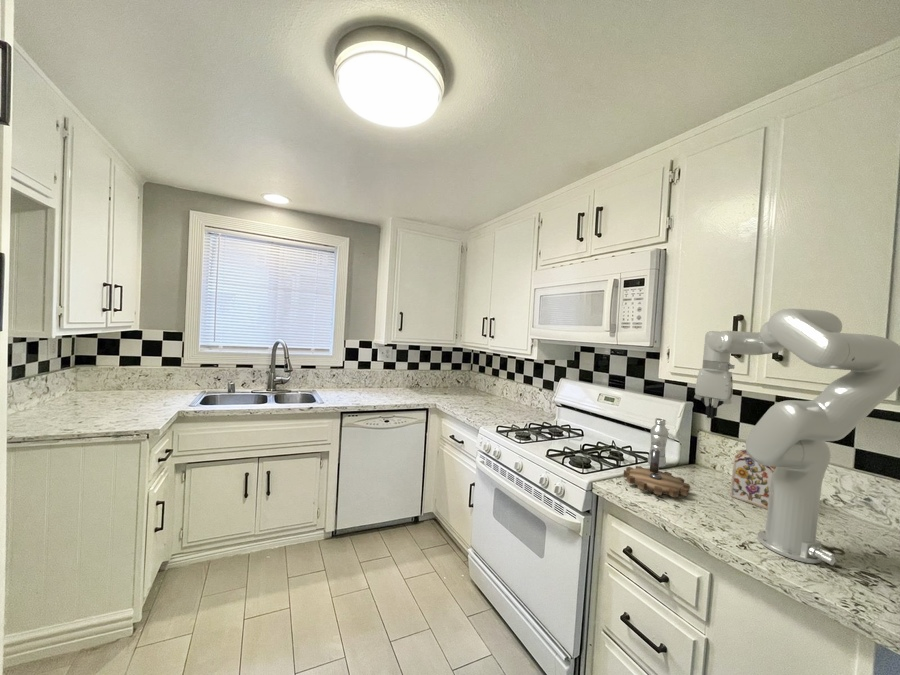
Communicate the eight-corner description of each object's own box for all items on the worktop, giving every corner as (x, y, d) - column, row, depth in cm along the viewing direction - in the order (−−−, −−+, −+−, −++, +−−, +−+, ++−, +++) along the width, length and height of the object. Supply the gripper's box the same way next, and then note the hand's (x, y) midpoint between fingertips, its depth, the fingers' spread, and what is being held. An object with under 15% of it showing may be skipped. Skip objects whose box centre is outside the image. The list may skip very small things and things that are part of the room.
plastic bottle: (644, 462, 153) (648, 416, 152) (661, 464, 152) (665, 418, 151) (650, 468, 147) (655, 420, 146) (668, 470, 146) (672, 422, 145)
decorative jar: (772, 512, 115) (778, 457, 114) (728, 496, 124) (733, 446, 124) (782, 503, 122) (787, 452, 121) (739, 489, 131) (744, 441, 131)
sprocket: (694, 503, 114) (697, 472, 114) (623, 486, 123) (626, 458, 123) (683, 479, 133) (686, 453, 133) (623, 467, 142) (625, 442, 141)
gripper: (744, 368, 122) (739, 421, 122) (693, 363, 133) (689, 411, 133) (740, 369, 117) (734, 424, 117) (687, 363, 128) (683, 414, 129)
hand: (710, 417), depth 125 cm, fingers closed
